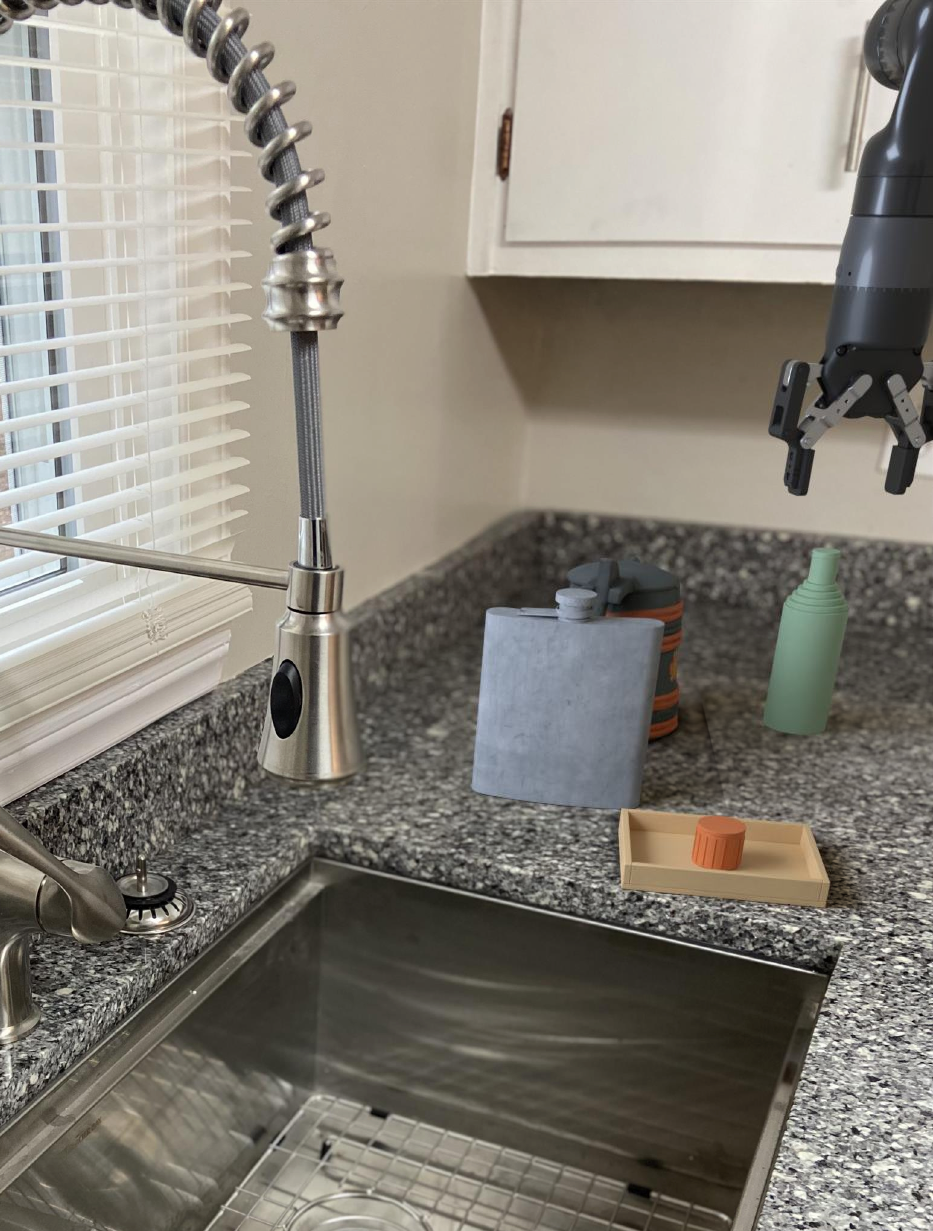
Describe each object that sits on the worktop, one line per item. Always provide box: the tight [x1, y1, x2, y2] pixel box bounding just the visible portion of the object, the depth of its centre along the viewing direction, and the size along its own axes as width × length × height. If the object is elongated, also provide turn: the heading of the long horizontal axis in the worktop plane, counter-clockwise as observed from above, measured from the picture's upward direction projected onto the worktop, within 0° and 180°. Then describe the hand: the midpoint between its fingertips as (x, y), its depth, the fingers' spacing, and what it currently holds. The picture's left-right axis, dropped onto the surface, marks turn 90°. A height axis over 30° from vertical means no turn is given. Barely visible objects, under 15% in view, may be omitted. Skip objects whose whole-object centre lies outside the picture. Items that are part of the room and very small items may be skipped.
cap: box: [692, 814, 746, 871], centre depth 121 cm, size 4×4×4 cm
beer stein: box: [566, 555, 684, 742], centre depth 148 cm, size 19×15×20 cm
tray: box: [617, 808, 831, 909], centre depth 121 cm, size 16×12×2 cm
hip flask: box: [471, 587, 665, 810], centre depth 131 cm, size 16×4×20 cm, turn 75°
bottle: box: [762, 547, 850, 736], centre depth 148 cm, size 6×6×20 cm
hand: (845, 494), depth 117 cm, fingers open, 8 cm apart
